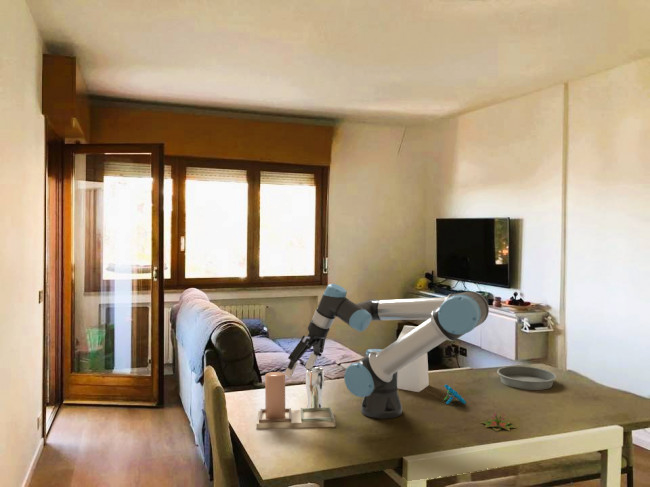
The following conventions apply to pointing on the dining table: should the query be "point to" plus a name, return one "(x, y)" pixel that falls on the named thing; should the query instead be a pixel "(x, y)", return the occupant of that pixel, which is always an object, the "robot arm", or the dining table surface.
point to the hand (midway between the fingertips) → (297, 372)
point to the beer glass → (314, 386)
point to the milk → (413, 371)
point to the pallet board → (299, 418)
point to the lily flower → (498, 421)
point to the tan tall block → (275, 395)
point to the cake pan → (526, 377)
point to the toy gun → (453, 395)
